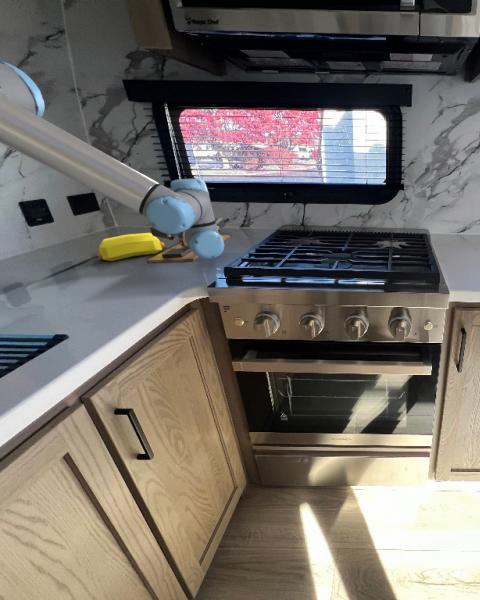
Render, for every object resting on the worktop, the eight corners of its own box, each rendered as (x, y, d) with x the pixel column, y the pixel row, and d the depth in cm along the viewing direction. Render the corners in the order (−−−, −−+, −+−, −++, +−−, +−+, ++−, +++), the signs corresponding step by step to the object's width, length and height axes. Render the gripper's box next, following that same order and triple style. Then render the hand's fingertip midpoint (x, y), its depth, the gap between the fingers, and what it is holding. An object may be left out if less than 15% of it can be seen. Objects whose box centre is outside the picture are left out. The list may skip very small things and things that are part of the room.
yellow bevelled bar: (99, 258, 107) (99, 264, 101) (90, 238, 104) (89, 243, 98) (165, 247, 117) (167, 252, 111) (158, 228, 114) (161, 232, 108)
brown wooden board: (147, 262, 102) (145, 256, 101) (193, 238, 127) (191, 233, 126) (193, 261, 103) (191, 254, 102) (230, 237, 128) (228, 232, 127)
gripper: (150, 256, 89) (144, 240, 104) (246, 239, 103) (228, 227, 118) (140, 229, 86) (135, 216, 101) (240, 215, 100) (223, 206, 115)
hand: (185, 222), depth 110 cm, fingers open, 13 cm apart
